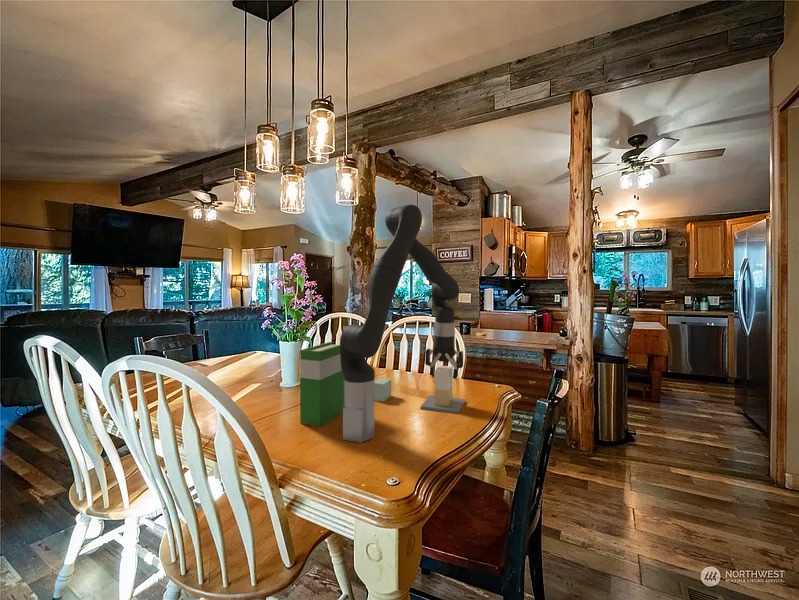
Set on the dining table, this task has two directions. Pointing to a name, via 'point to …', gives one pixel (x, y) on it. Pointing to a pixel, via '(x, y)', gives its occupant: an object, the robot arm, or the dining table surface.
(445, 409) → the board
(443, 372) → the off white brick
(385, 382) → the sage brick
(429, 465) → the dining table surface
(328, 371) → the hardback book
